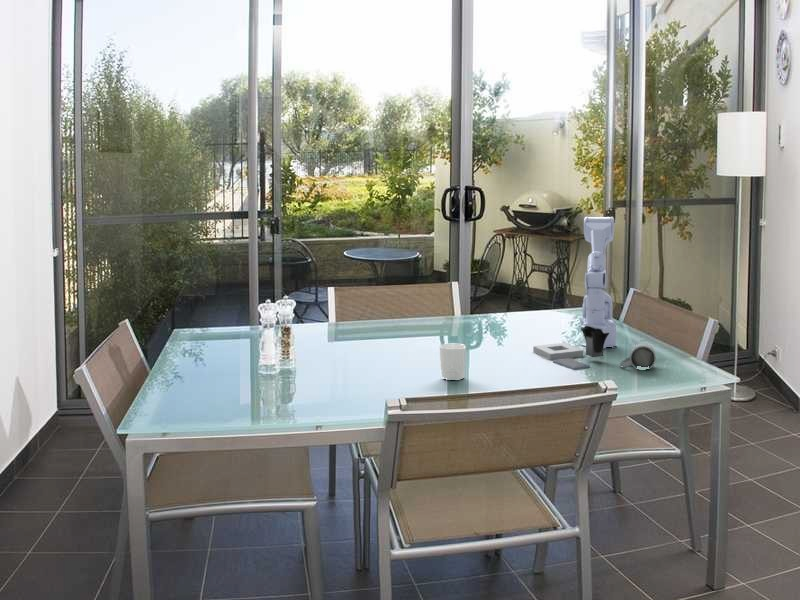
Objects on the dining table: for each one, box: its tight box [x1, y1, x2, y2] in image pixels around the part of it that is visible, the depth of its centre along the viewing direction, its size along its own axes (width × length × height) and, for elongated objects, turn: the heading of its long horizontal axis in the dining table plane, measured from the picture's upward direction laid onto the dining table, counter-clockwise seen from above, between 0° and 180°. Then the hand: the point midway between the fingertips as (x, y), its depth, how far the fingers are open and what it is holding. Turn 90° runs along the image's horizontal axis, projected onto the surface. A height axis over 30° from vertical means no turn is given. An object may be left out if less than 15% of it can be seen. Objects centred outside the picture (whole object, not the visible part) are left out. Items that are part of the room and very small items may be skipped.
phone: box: [552, 358, 590, 371], centre depth 295 cm, size 6×11×1 cm, turn 26°
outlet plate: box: [532, 342, 584, 361], centre depth 309 cm, size 12×12×2 cm
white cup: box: [439, 342, 467, 380], centre depth 282 cm, size 8×8×10 cm
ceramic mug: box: [619, 342, 657, 370], centre depth 290 cm, size 11×8×8 cm
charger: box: [585, 336, 605, 358], centre depth 298 cm, size 4×4×6 cm
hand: (594, 350), depth 298 cm, fingers closed on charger, 4 cm apart
